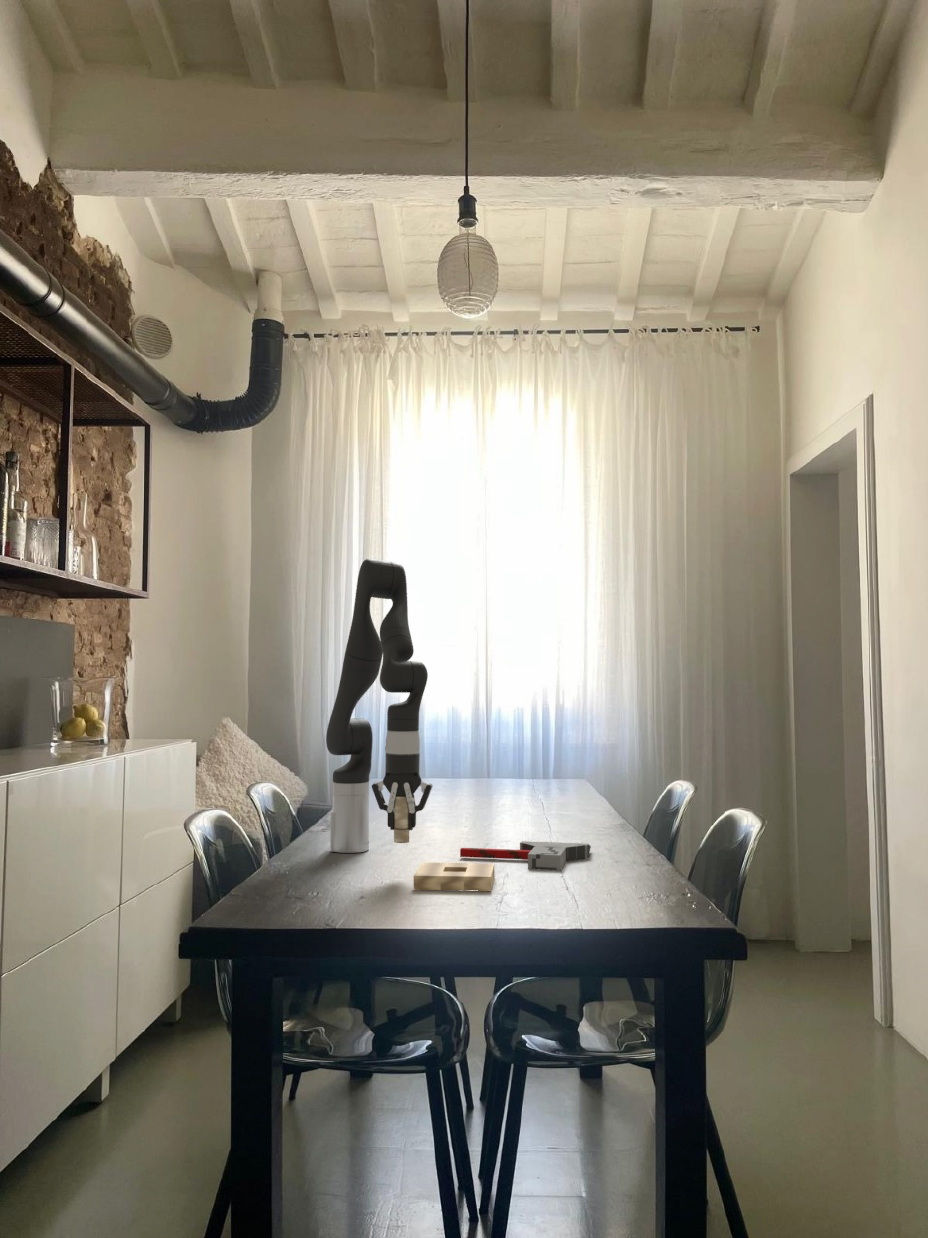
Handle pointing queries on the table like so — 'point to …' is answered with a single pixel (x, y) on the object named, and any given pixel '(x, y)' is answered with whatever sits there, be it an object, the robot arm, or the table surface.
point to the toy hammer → (536, 853)
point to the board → (454, 876)
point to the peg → (401, 820)
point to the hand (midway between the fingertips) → (401, 829)
